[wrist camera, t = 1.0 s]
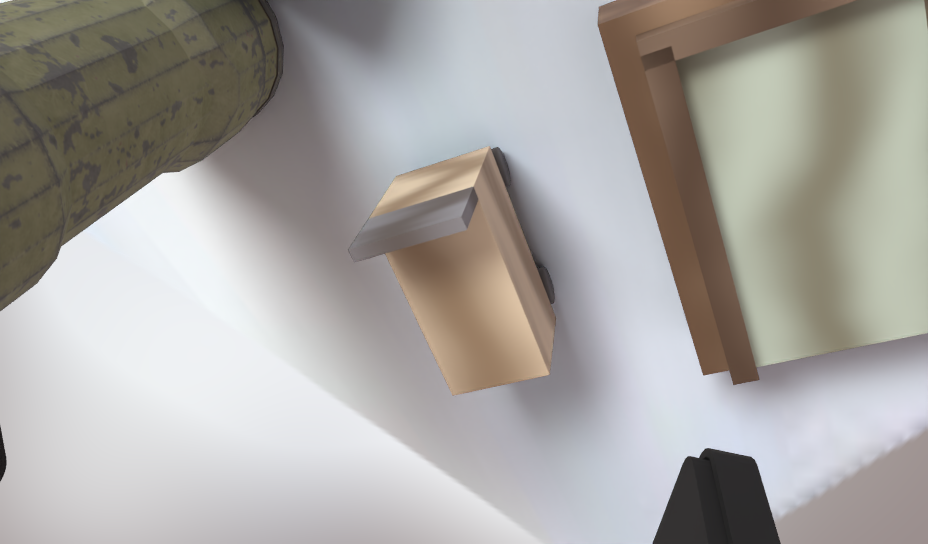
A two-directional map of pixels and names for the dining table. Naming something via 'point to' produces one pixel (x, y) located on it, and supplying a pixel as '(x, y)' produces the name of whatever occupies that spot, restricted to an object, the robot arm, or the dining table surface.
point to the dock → (782, 167)
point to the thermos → (115, 108)
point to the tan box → (466, 270)
